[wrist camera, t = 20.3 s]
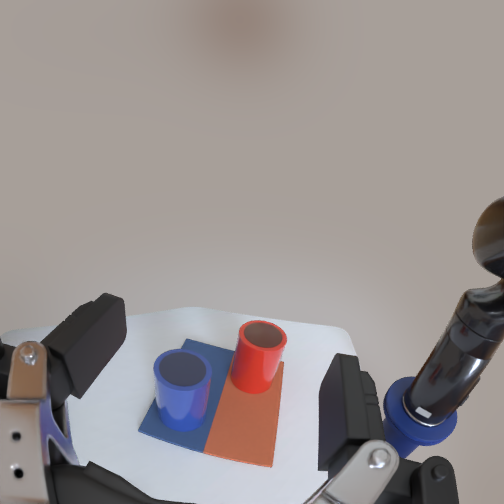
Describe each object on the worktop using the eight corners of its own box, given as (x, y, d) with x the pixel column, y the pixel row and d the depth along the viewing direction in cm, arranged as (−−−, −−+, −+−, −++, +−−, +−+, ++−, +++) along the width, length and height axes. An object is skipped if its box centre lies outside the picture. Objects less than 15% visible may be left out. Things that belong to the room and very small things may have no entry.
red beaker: (274, 368, 41) (288, 325, 38) (270, 398, 36) (285, 355, 32) (234, 359, 42) (243, 315, 39) (226, 388, 36) (234, 344, 33)
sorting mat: (283, 363, 43) (283, 361, 43) (271, 467, 26) (272, 466, 26) (186, 340, 44) (186, 338, 44) (138, 431, 27) (138, 429, 27)
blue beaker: (211, 401, 34) (218, 357, 30) (199, 437, 28) (203, 398, 25) (167, 387, 34) (166, 342, 31) (150, 421, 28) (143, 378, 25)
